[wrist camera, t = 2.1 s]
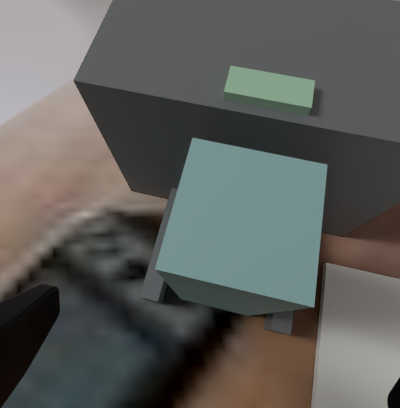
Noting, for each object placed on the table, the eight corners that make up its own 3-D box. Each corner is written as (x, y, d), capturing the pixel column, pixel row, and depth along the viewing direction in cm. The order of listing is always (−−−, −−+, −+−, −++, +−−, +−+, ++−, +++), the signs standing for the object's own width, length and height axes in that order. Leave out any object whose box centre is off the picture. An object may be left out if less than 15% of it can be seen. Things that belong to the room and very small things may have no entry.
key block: (247, 315, 18) (313, 307, 7) (181, 299, 18) (154, 268, 8) (258, 249, 19) (327, 164, 9) (196, 235, 19) (192, 137, 9)
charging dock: (334, 346, 17) (513, 380, 7) (97, 287, 18) (-20, 248, 8) (348, 144, 22) (467, 0, 12) (160, 107, 23) (130, -50, 13)
